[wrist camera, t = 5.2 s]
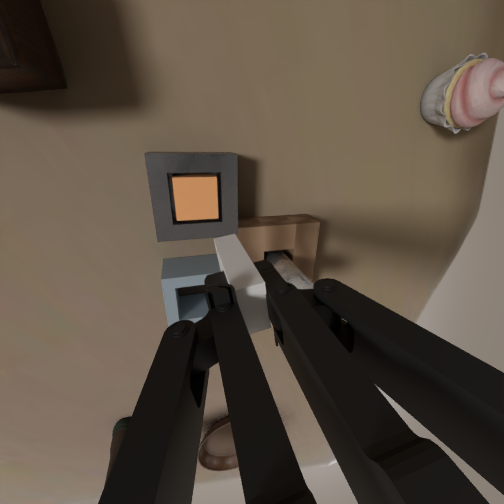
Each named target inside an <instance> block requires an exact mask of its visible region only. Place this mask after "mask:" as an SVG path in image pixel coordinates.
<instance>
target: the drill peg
mask: <svg viewBox="0 0 504 504" xmlns="http://www.w3.org/2000/svg"><path fill="white" fill-rule="evenodd" d="M264 260H267V261H269V262H271V263H272V264H273V266H274V268H276V270H277V271H278V272H279V274H280V275H281V276H282V277H283V279H284V280H285V281H286V282H289V283H292V284H293V285H295V286H296V287H297V289H313V285H314V284H313V283H312V282H311V281H310V280H309V278H308V277H307V276H306V275H305V274H304V273H303V272H302V271H301V270H300V269H299V268H298V267H297V266H296V265H295V264H294V263H293V262H292V261H291V260H290V259H289V258H288V257H287V256H286V255H285V253H284V252H283V251H282V250H274V251H264Z"/></svg>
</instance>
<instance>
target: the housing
mask: <svg viewBox="0 0 504 504" xmlns="http://www.w3.org/2000/svg"><path fill="white" fill-rule="evenodd" d="M144 154H145V161H146V168H147V174H148V181H149V188H150V194H151V201H152V207H153V214H154V221H155V227H156V234H157V241H158V242H163V241H175V240H188V239H200V238H213V237H223V236H227V235H232V234H235V235H236V236H238V154H236V153H231V152H147V153H144ZM206 173H213V174H214V175H215V176H216V177H217V194H218V218H217V219H200V220H184V221H177V218H176V209H175V200H174V191H173V182H172V174H206Z"/></svg>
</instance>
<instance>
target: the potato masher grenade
mask: <svg viewBox="0 0 504 504" xmlns="http://www.w3.org/2000/svg"><path fill="white" fill-rule="evenodd" d="M130 420H131V418H123V419H121V420H119V421H118V422H117V423H116V425H115V426H114V429H113V435H112V436H113V438H112V443H111V448H110V462H109V467H108V472H107V477H106V481H105V484H106V482H107V479H108V477H109V474H110V471H111V469H112V466H113V464H114V461H115V459H116V456H117V453H118V451H119V448H120V446H121V443H122V440H123V438H124V435H125V433H126V430H127V427H128V425H129V422H130ZM104 487H105V486H104Z"/></svg>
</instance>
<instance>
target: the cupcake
mask: <svg viewBox="0 0 504 504" xmlns="http://www.w3.org/2000/svg"><path fill="white" fill-rule="evenodd" d="M503 106H504V62H502V61H500V60H498V59H495V58H488V56H487V54H486V53H481V54H480V55H478V56H477V57H476V56H475V55H473V54H470V55H469V56H467V57H466V58H465V59H464V60H463V61H461V62H460V63H459V64H458V65H456V66H455V67H453V68H451V69H450V70H448V71H446V72H444V73H442V74H440V75H438V76H437V77H435V78H434V79H433V80H432V81H431V82H430V83H429V84H428V86H427V87H426V89H425V90H424V93H423V95H422V99H421V104H420V109H421V115H422V117H423V118H424V119H425V120H426V121H427V122H428V123H431V124H436V125H440V126H443V127H446V128H447V129H449V130H450V131H452V132H453V133H455V134H456V133H458V132H459V131H460V130H461V129H464V130H467V131H469V130H470V129H471V127H474V126H477V125H479V124H481V123H482V122H483V121H485V120H486V119H487V118H488V117H491V116H493V115H495V114H496V113H497V112H498V111H499V110H500V109H501V108H502V107H503Z"/></svg>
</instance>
